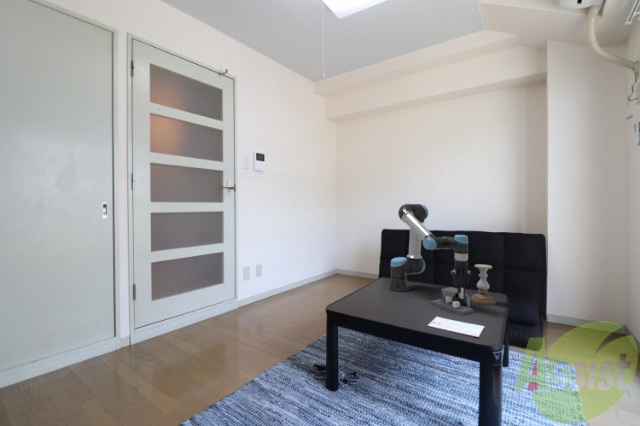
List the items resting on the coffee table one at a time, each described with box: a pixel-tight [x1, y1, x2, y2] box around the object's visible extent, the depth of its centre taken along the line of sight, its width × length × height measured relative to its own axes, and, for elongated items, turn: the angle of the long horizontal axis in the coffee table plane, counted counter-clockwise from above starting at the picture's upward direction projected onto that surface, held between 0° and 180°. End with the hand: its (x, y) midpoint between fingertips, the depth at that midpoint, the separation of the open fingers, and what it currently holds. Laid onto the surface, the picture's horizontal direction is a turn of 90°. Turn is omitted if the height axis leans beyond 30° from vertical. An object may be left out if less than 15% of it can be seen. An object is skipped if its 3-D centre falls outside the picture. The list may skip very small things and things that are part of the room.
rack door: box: [464, 292, 474, 308], centre depth 180 cm, size 3×10×7 cm, turn 164°
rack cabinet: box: [440, 286, 466, 305], centre depth 187 cm, size 10×10×8 cm
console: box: [430, 298, 474, 316], centre depth 176 cm, size 22×10×2 cm, turn 29°
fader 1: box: [446, 296, 452, 302], centre depth 181 cm, size 2×3×3 cm
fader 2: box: [453, 301, 461, 308], centre depth 171 cm, size 2×3×3 cm
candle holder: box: [470, 263, 496, 306], centre depth 188 cm, size 11×11×24 cm
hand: (461, 298), depth 178 cm, fingers closed
